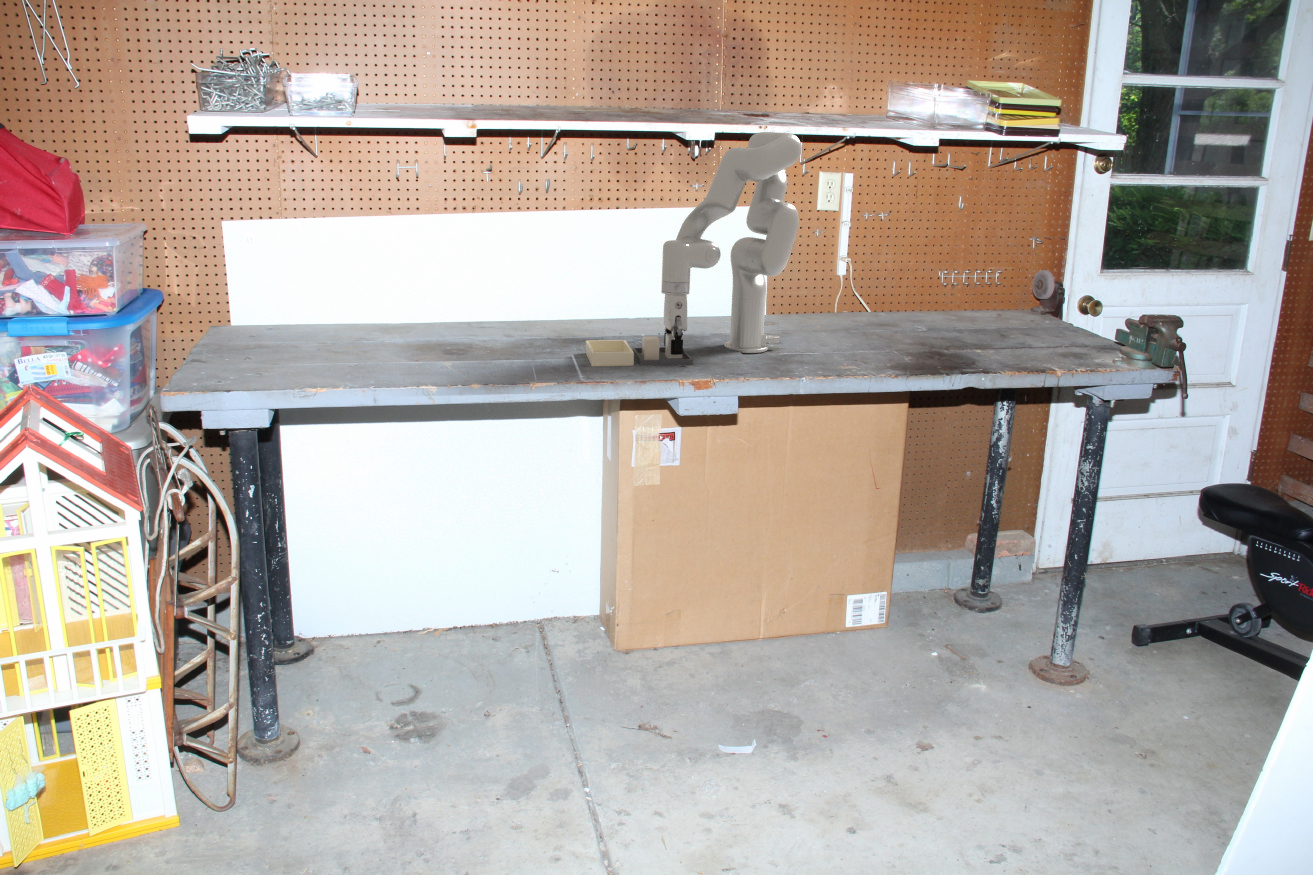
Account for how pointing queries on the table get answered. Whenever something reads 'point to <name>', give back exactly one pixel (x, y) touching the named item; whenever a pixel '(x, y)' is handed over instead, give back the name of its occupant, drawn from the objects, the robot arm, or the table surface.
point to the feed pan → (663, 358)
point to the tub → (609, 353)
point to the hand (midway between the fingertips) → (673, 350)
